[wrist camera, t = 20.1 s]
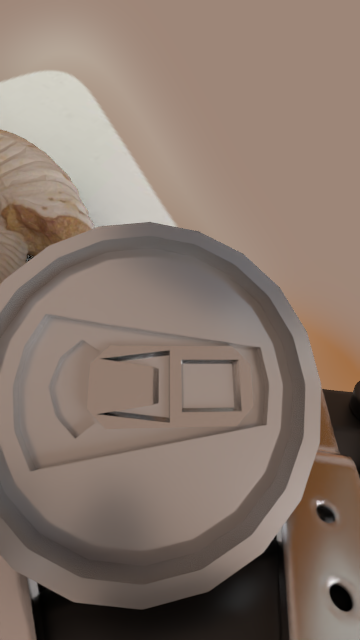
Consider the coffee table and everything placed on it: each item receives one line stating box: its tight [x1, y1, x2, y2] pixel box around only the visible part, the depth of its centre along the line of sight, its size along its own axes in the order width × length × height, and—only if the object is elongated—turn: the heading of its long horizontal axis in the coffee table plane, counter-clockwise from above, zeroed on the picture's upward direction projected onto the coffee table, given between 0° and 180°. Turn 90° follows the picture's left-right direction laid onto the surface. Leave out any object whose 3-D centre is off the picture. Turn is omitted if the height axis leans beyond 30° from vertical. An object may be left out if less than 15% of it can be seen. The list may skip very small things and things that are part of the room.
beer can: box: [0, 222, 321, 610], centre depth 10 cm, size 5×5×12 cm
